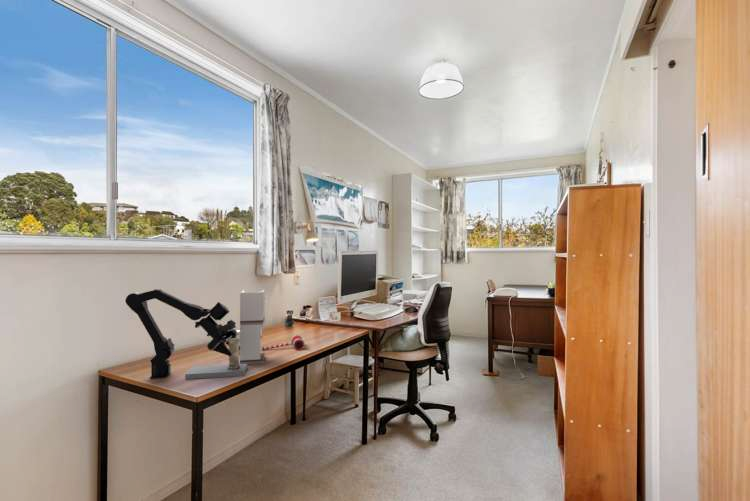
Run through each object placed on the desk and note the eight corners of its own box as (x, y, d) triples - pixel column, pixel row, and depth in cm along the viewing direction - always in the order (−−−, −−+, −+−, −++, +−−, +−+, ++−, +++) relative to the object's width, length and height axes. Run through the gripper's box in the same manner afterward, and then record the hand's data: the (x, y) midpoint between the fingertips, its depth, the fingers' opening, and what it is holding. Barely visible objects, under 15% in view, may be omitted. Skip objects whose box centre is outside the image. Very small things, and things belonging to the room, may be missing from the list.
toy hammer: (262, 353, 200) (262, 341, 200) (261, 348, 211) (261, 337, 211) (304, 350, 207) (304, 338, 208) (302, 345, 219) (302, 334, 219)
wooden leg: (228, 374, 166) (227, 340, 166) (229, 371, 170) (229, 338, 170) (238, 373, 167) (237, 340, 167) (239, 370, 171) (239, 337, 171)
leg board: (185, 379, 159) (185, 374, 159) (192, 370, 170) (192, 366, 170) (243, 375, 164) (243, 370, 164) (247, 367, 175) (247, 363, 175)
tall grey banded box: (262, 363, 182) (262, 292, 182) (239, 364, 180) (240, 292, 180) (264, 356, 193) (264, 289, 193) (243, 358, 191) (243, 290, 191)
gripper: (214, 319, 159) (239, 345, 159) (233, 312, 178) (255, 335, 177) (196, 337, 160) (221, 363, 159) (217, 328, 178) (239, 351, 178)
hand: (235, 352), depth 168 cm, fingers open, 9 cm apart
